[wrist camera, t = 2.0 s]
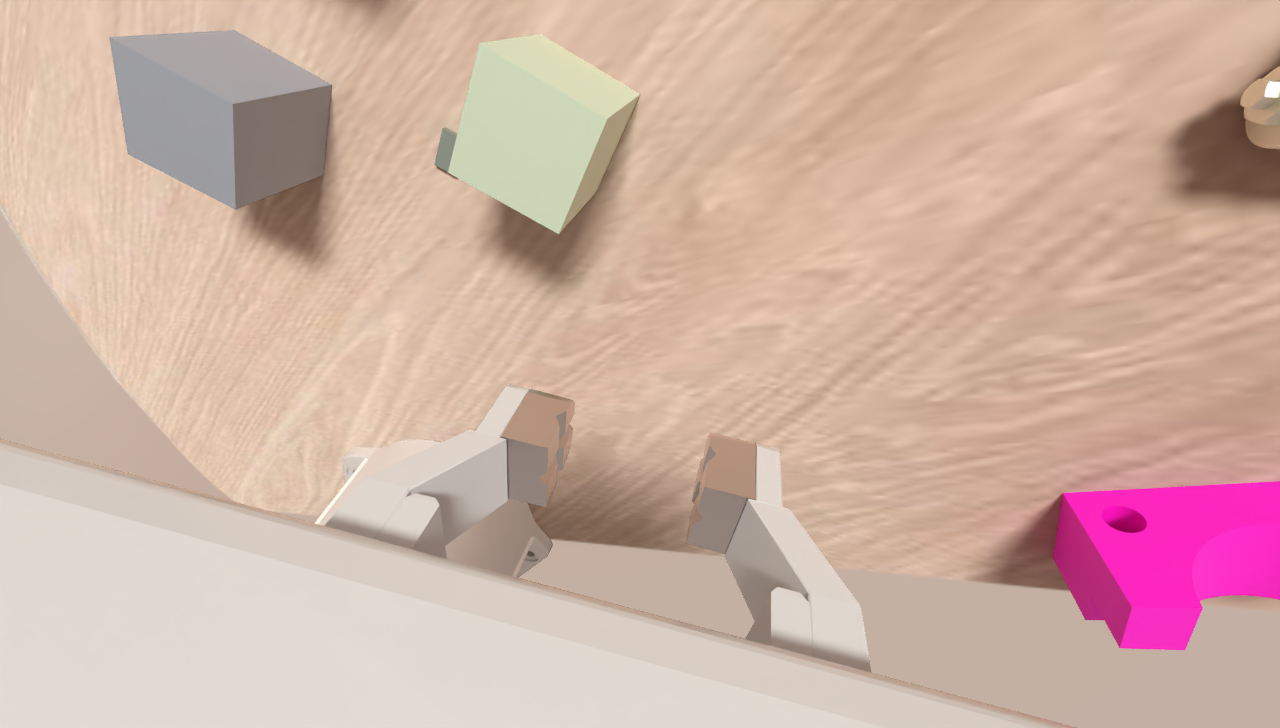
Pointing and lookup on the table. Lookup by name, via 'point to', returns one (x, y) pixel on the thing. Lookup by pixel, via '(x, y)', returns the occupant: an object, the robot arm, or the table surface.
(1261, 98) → the pipe fitting
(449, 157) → the small gray-green block
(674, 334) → the table surface
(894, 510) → the table surface
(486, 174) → the sage block
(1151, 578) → the magenta curved bracket
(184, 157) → the slate block
